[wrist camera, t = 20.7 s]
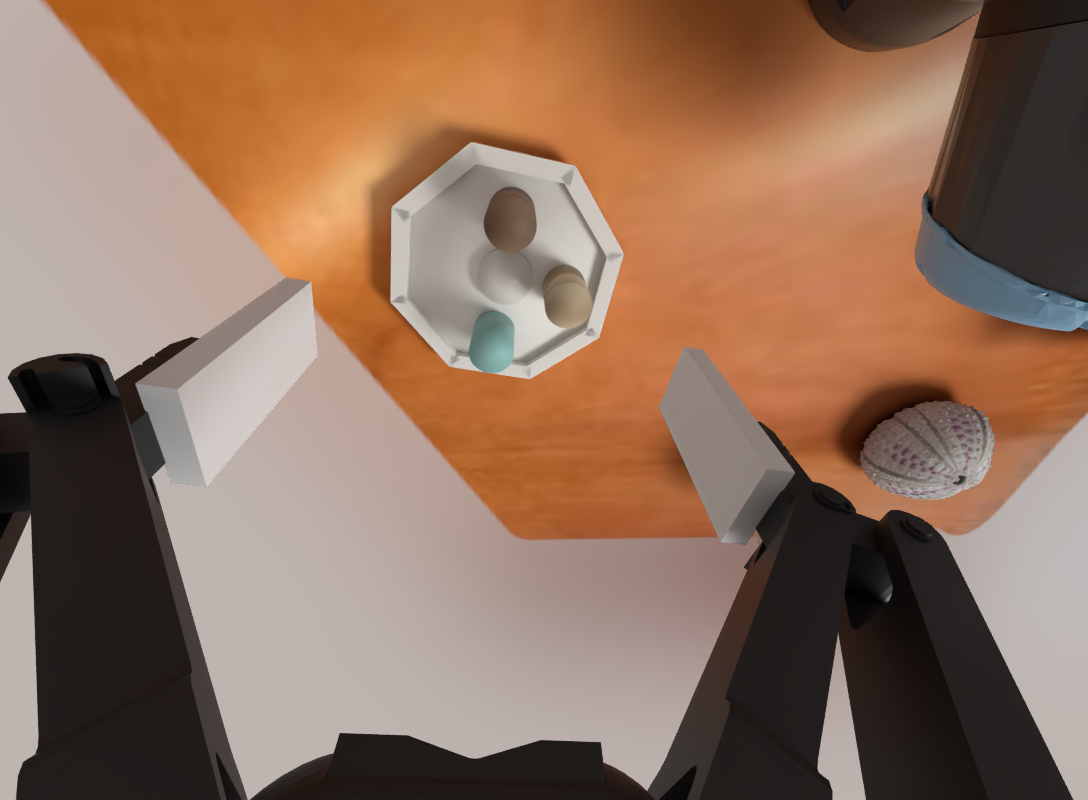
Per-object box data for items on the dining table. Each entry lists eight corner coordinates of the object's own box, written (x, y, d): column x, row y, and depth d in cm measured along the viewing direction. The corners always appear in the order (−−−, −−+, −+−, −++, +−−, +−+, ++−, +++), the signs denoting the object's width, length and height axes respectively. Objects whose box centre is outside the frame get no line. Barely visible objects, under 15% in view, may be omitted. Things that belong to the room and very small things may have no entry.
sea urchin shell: (957, 459, 57) (1015, 505, 50) (847, 486, 59) (889, 534, 52) (976, 376, 50) (1046, 417, 43) (851, 411, 52) (900, 455, 45)
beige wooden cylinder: (547, 261, 40) (550, 279, 35) (589, 269, 40) (597, 288, 36) (538, 302, 42) (540, 324, 37) (579, 310, 42) (585, 332, 38)
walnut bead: (491, 182, 36) (486, 191, 32) (539, 191, 36) (541, 202, 32) (485, 232, 38) (480, 247, 34) (530, 240, 38) (531, 256, 34)
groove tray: (398, 123, 34) (392, 124, 33) (640, 178, 37) (645, 181, 35) (394, 349, 45) (389, 357, 43) (582, 378, 48) (584, 387, 46)
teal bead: (476, 307, 42) (471, 329, 38) (517, 314, 42) (517, 337, 38) (471, 344, 44) (466, 369, 40) (511, 351, 44) (509, 376, 40)
